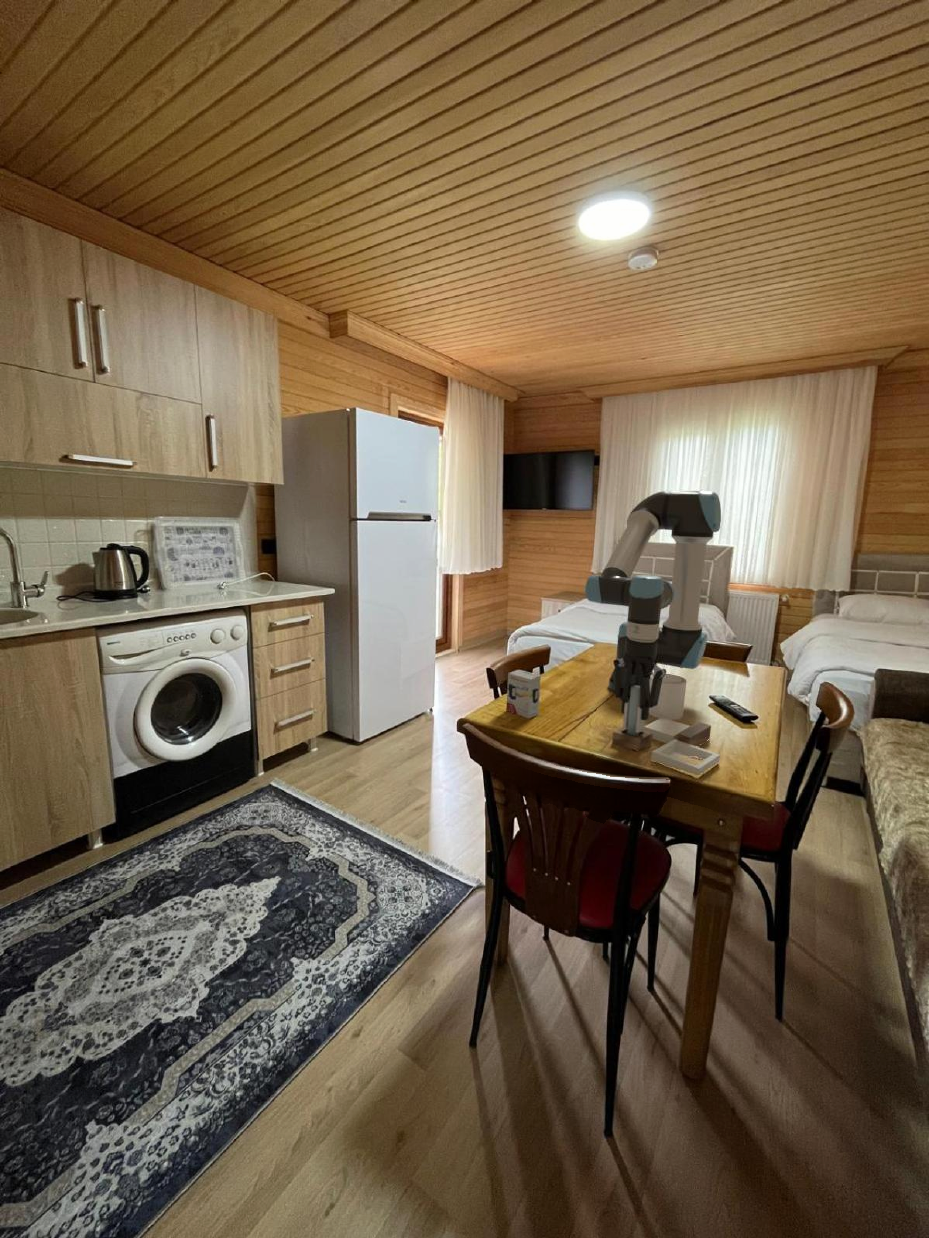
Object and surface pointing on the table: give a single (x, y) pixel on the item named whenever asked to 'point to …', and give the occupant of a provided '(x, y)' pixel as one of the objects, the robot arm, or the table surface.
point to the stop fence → (695, 734)
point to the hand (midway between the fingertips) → (633, 728)
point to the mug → (669, 697)
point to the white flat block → (665, 729)
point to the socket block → (632, 739)
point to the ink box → (523, 693)
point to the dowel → (633, 710)
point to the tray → (678, 748)
